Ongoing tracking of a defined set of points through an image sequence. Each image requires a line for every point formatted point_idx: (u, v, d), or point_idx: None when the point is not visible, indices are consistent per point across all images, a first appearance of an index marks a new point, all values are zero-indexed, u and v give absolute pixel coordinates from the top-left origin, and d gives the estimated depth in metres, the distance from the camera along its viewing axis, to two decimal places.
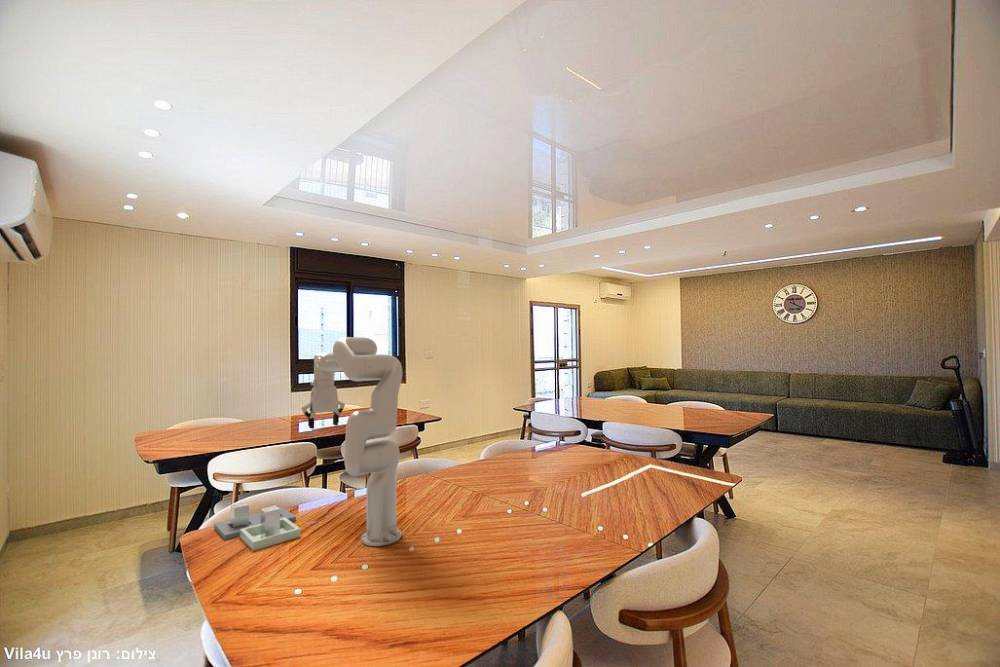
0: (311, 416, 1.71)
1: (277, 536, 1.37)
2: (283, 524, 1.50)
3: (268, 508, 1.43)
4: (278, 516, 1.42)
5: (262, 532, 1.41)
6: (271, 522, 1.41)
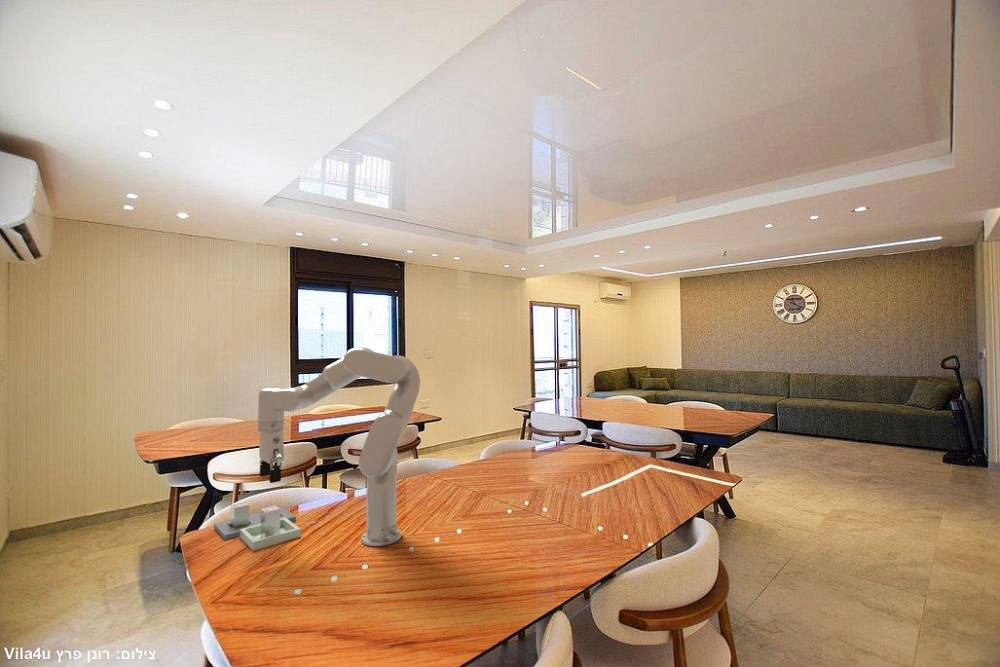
0: None
1: (277, 536, 1.37)
2: (283, 524, 1.50)
3: (268, 508, 1.43)
4: (278, 516, 1.42)
5: (262, 532, 1.41)
6: (271, 522, 1.41)
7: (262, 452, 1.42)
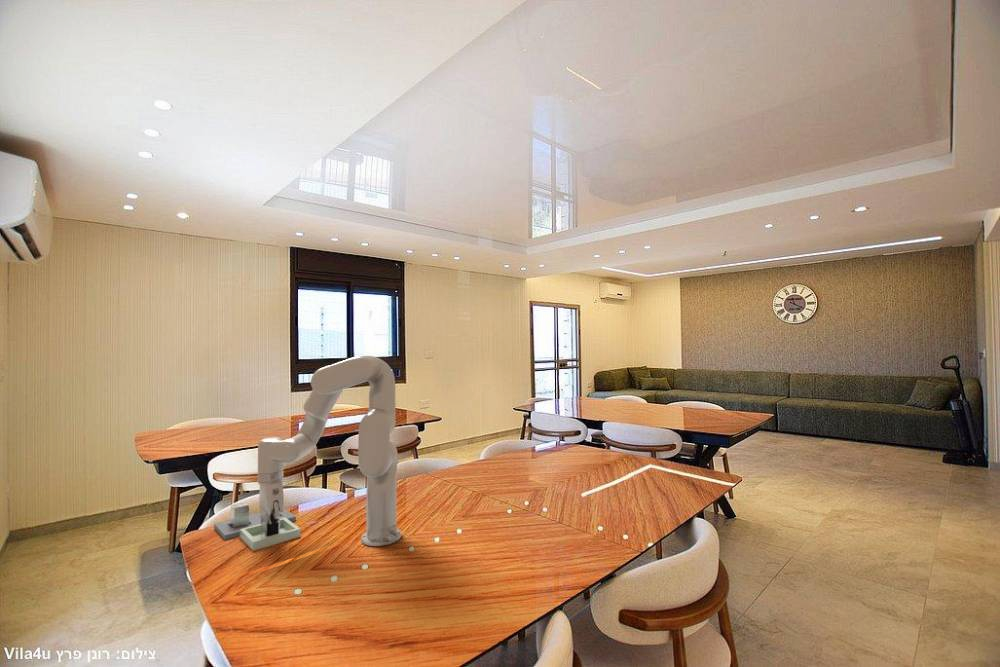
0: None
1: (277, 536, 1.37)
2: (283, 524, 1.50)
3: None
4: None
5: (262, 532, 1.41)
6: None
7: (262, 503, 1.41)
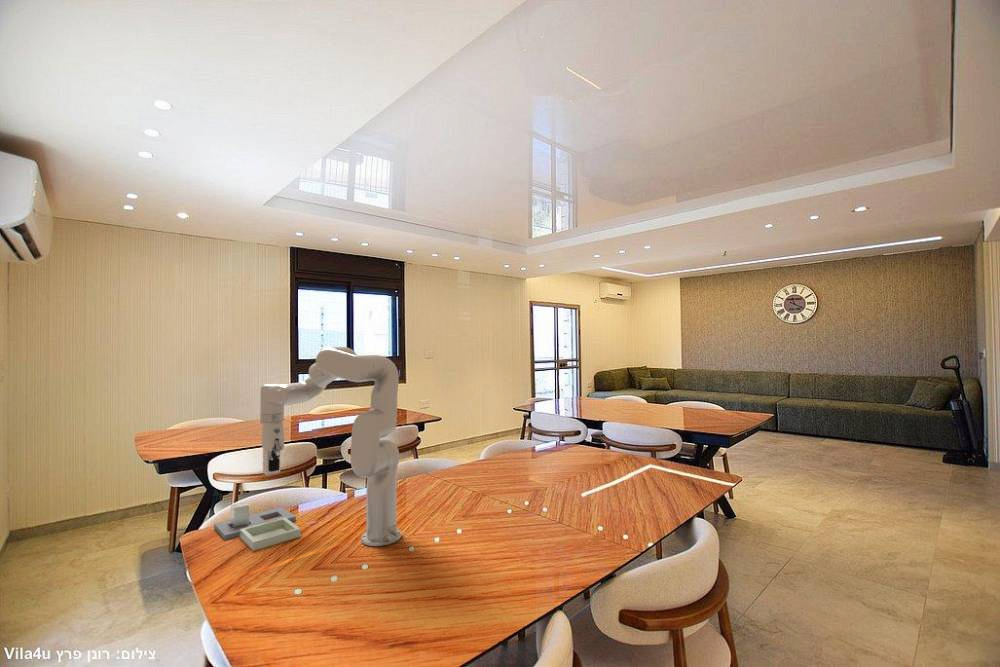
0: None
1: (277, 536, 1.37)
2: (283, 524, 1.50)
3: None
4: None
5: (264, 468, 1.56)
6: None
7: (264, 442, 1.56)
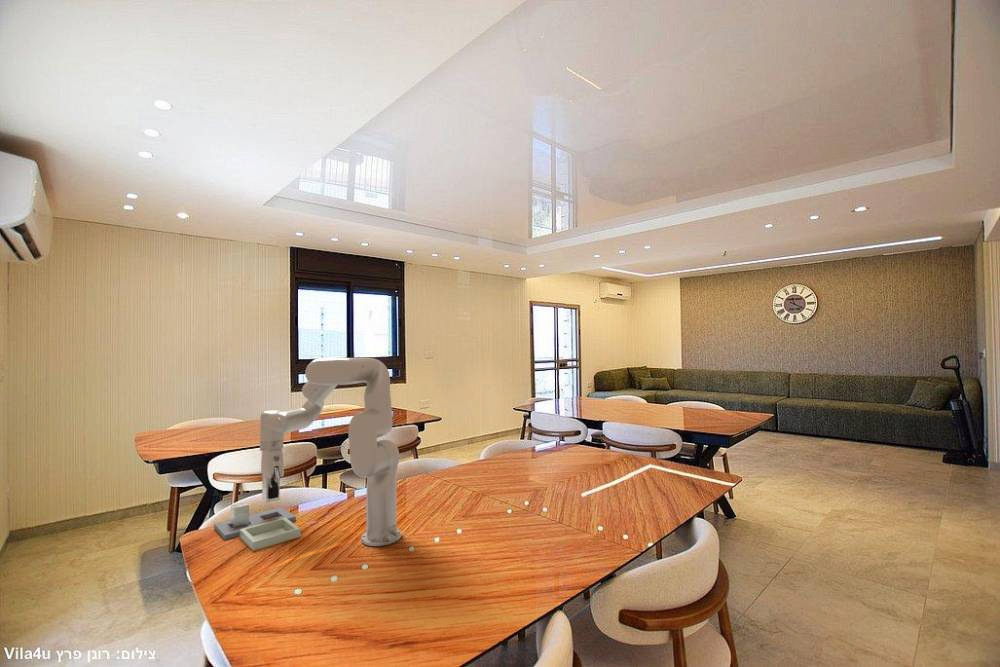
0: None
1: (277, 536, 1.37)
2: (283, 524, 1.50)
3: None
4: None
5: (263, 495, 1.55)
6: None
7: (264, 469, 1.56)
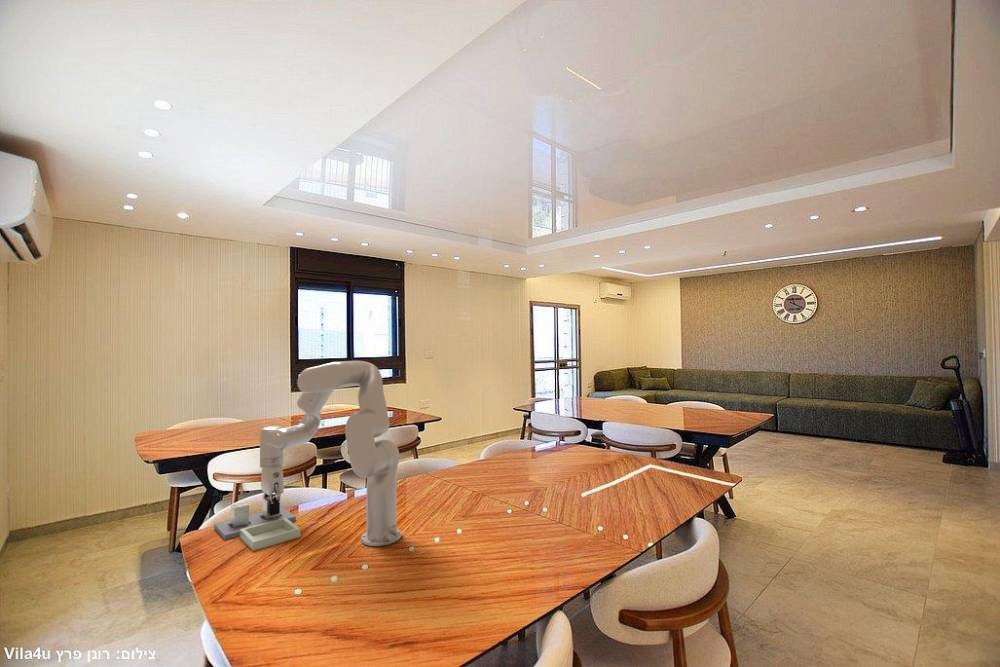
0: None
1: (277, 536, 1.37)
2: (283, 524, 1.50)
3: (269, 497, 1.57)
4: None
5: (264, 519, 1.55)
6: None
7: (264, 485, 1.55)
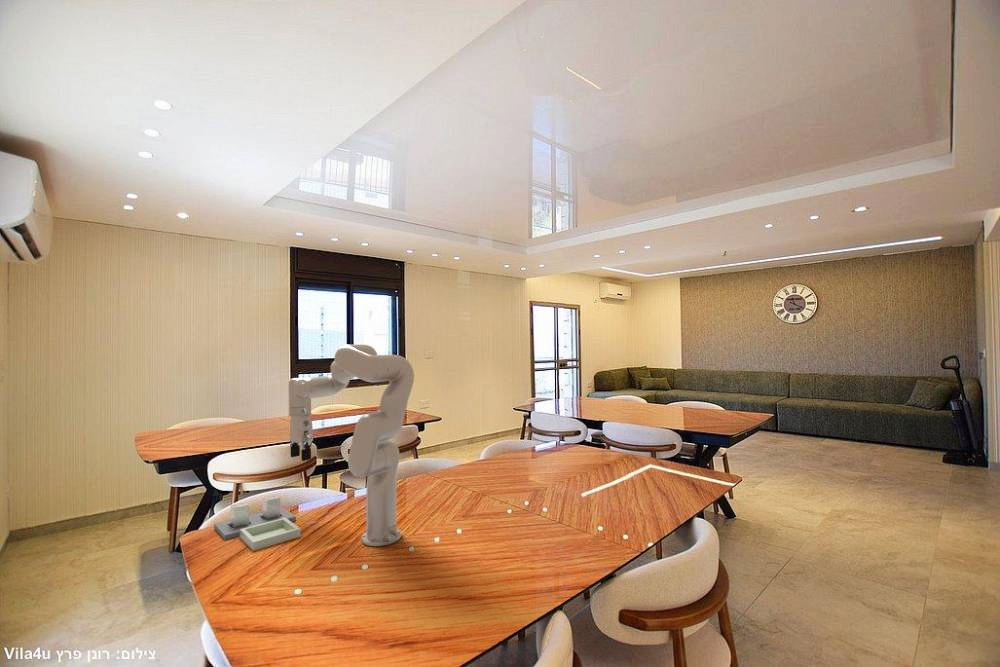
0: None
1: (277, 536, 1.37)
2: (283, 524, 1.50)
3: (269, 497, 1.57)
4: (278, 504, 1.56)
5: (264, 519, 1.55)
6: (272, 510, 1.55)
7: (293, 434, 1.60)
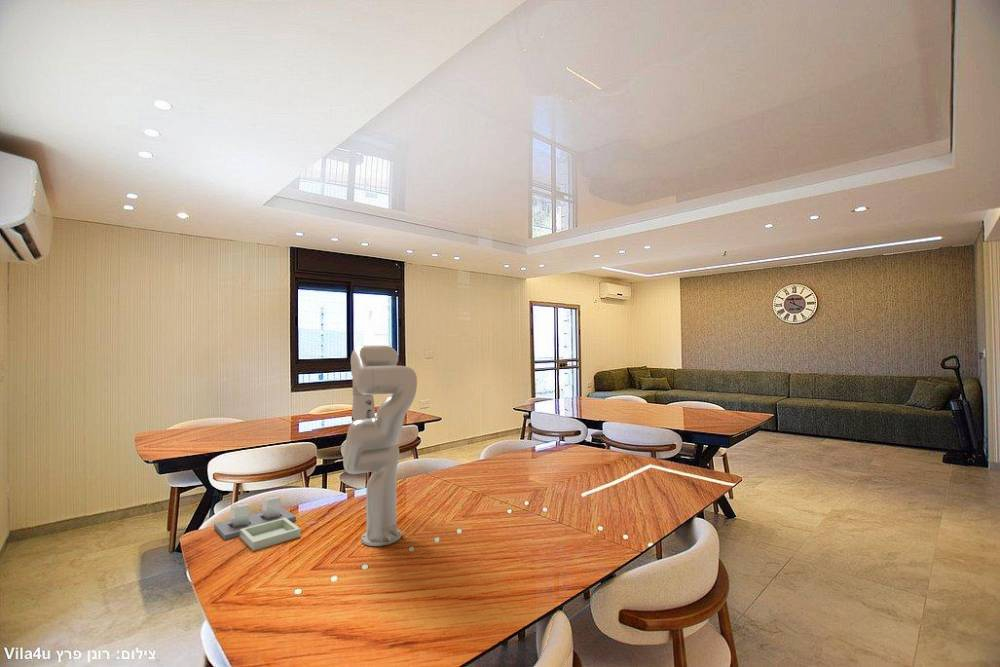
0: None
1: (277, 536, 1.37)
2: (283, 524, 1.50)
3: (269, 497, 1.57)
4: (278, 504, 1.56)
5: (264, 519, 1.55)
6: (272, 510, 1.55)
7: (356, 413, 1.68)
